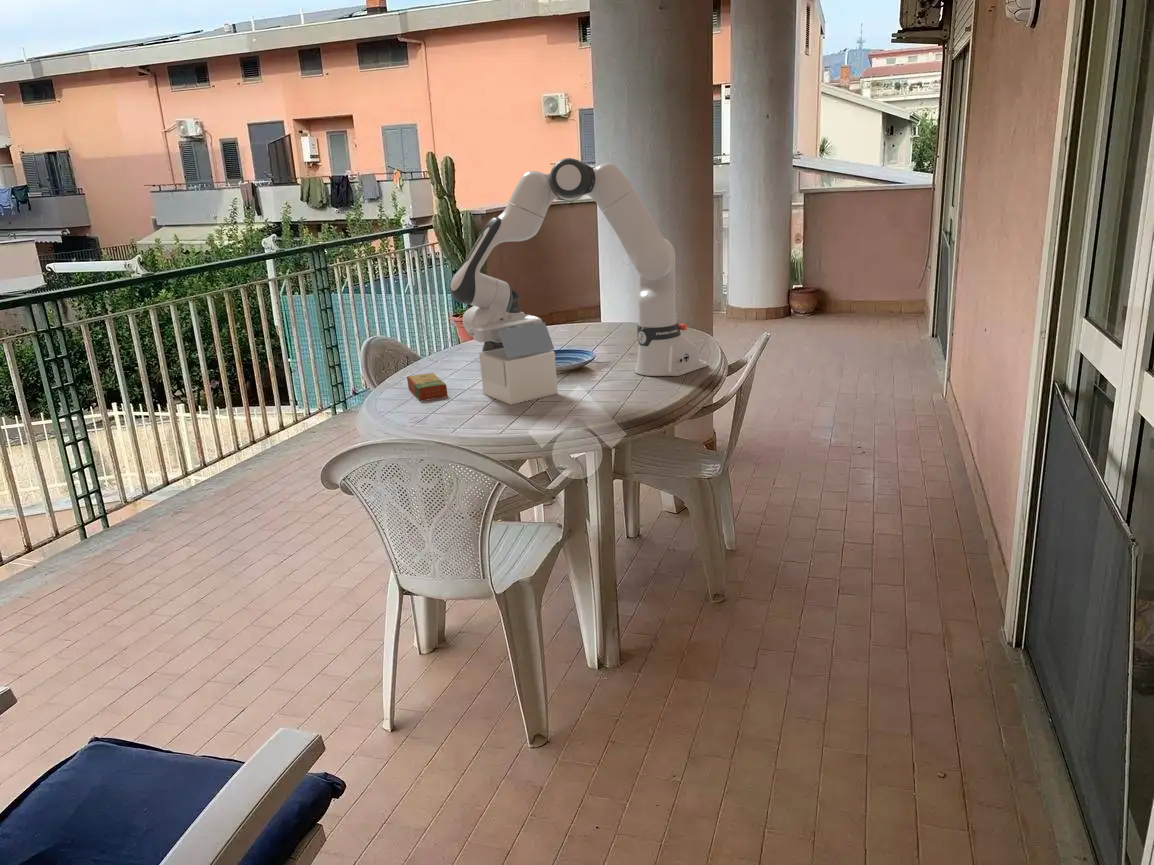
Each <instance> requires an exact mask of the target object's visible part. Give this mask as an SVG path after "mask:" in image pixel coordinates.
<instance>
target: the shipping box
mask: <svg viewBox="0 0 1154 865" xmlns="http://www.w3.org/2000/svg"><path fill="white" fill-rule="evenodd" d="M479 361H480V362H479V363H480V372H481V382H482V383H481V384H482V392H483V393H482V394H483V395H485V396H487V397H491V398H493V399H496V400H498V401H500V402H502V403H506V404H508V405H511V406H512V404H513V405H517V404H521V403H525V402H524V401H526V402H529V401H528V400H530V401H534V400H538V399H537V398H539V399H541V397H543V398H546V396H547V397H551V396H555V395H554V394H556V395H558V394H559V393H558V381H557V380H558V378H557V366H556V365H557V364H556V352H555V351H554V350H549V351H543V352H538V353H533V354H528V355H523V356H518V357H513V358H507V355H506V352H505V349H504V348H500V349H495V350H490V351H484V352H482V351H480V352H479ZM550 395H551V396H550ZM533 399H534V400H533ZM520 402H521V403H520ZM516 403H517V404H516Z"/></svg>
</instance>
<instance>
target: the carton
mask: <svg viewBox="0 0 1154 865" xmlns="http://www.w3.org/2000/svg"><path fill="white" fill-rule="evenodd" d="M406 380H407V386H408V390H409V391H410V392H411V394H413V395H414V397H416V398H417V400H418V401H419V402H422V401H421V400H423V401H428V400H427V399H429V400H434V398H435V399H441V398H445V397H447V398H448V388H447V383H445V382H444V381H443V380H442V379H440V378H439V377H438V376H437V375H436V374H435V373H433V372H430V373H429V372H427V373H421V374H415V375H409V376H406Z"/></svg>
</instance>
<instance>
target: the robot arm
mask: <svg viewBox="0 0 1154 865" xmlns="http://www.w3.org/2000/svg"><path fill="white" fill-rule="evenodd" d="M630 182H631V181H630V180H628V178H627V176H626V175H625V174H624V173H623V172H622V170H620V169H619V168H618V167H617V166H616V165H615V164H613V163H611V162H604V163H600V164H599V165H597V166H595V167H592V166H590V165H588V164H586V163H584V162H582V161H580V160H579V159H575V158H569V157H568V158H566V157H565V158H562V159H560V160H558V161H556V162H555V164H554V165H553V166H552V168H551V171H550V173H549V172H548V173H543V172H540V171H537V170H530V171H527V172H525V173H523V175H522V176H521V178H520V179H519V181H518V183H517V184H516V186H515V187H514V189H513V191H512V194H511V196H510V199H509V201H508V203H507V205H506V207H505V209H504V210H503V211H502V212H501V213H500V214H499V215H498V216H497V217H493V218H491V219H490V220H489V221H488V222H487V223H486V225H485V226H484V227H483V229H482V231H481V232H480V233H479V236H478V237H477V239H476V241H475V243H474V244H473V245H472V247H471V249H470V250H469V253H468V254H467V256H466V257H465V259H464V261H463V262H462V264H461V265H460V266H459V267H458V269H457V270H456V271H455V273H454V275H453V276H452V278H451V280H450V284H449V290H450V292H451V293H450V294H452V297H453V298H454V300H455V301H456V302H457V303H459V304H460V303H461V304H465V305H467V304H468V305H469V304H470V305H473V307H471V308H470V309H468V310H467V309H466V310H465V311H464V313H463V314H462V325H463V328H464V329H465V330H466V332H467V333H466V334H467V335H469V336H472V338H473V339H472V340H474V341H476V342H479V343H484V342H488V341H493V342H496V343H502V340H501V338H500V335H499V332H498V331H499V330H503V329H509V328H514V327H520V326H525V325H531V324H537V323H542V322H543V319H542V318H540V317H538V316H536V315H531V314H525V312H523V311H520V312H509V310H510V308H511V305H512V301H513V295H512V290H513V289H512V288H511V285H510V284H509V283H508V281H505V280H501V279H499V278H496V277H493V276H490V275H487V274H484V273H482V272H481V269H482V267H483V265H484V264H485V263H486V260H487V259H488V258H489V255H490V254H491V252H492V251H493V249H494V248H495V247H497V246H498V245H500V244H502V243H506V242H523V241H527V240H530V239H531V238H533V237H535V236H536V235H537V234H538V232H539V230H540V229H541V226H542V225H543V222H544V220H545V217H546V215H547V212H548V209H549V208H550V206H551V204H552V203H553V202H554V201H555V200H556V201H557V200H558V201H566V202H573V201H578V200H579V199H581V198H583V197H584V196H588V197H590V198H591V199H592V200H594V202H595V203H596V204H597V206H598V208H599V209H600V211H601V212H602V214H603V215H604V217H605V219H606V220H607V222H608V223H609V225H610V227H611V228H612V229H613V231H614V233H615V234H616V236H617V237H618V239H619V241H620V243H621V245H622V247H623V249H624V251H625V252H626V255H627V256H628V258H629V260H631V263H632V265H633V266H634V268H635V270H636V271H637V314H638V316H637V317H638V318H637V321H638V324H637V326H636V328H637V329H636V330H637V331H636V332H637V333H636V334H637V335H636V336H637V340H638V342H637V343H638V348H637V349H638V350H637V359H636V364H635V369H634V372H635V373H636V374H638V375H641V376H649V377H650V376H651V377H662V376H666V377H667V376H669V377H670V376H671V377H672V376H673V377H678V376H679V377H680V376H682V375H685V374H688V373H691V372H693V371H696V370H700V369H702V368H705V367H707V366H708V362H707V361H705V360H703V359H700V354H699V349H698V347H697V345H696V344H694V343H693V342H692V341H690V340H689V339H688V338H686V337H685V336H683V335H682V332H683V331H684V332H685V331H687V329H688V325H687V324H686V323H677V314H676V309H677V308H676V307H677V306H676V251H675V247H674V246H673V244H672V242H670V241H669V240H668V239H667V238H664V236H663V235H662V233H661V231H660V230H659V228H658V227H657V224H656V223H655V220H654V219H653V217H652V215H651V213H650V211H649V210H648V208H647V206H646V205H645V204H644V202H643V200H642V198H640V196H639V194H638V192H637V191H636V190H635V188H634V187H633V185H632V183H630ZM511 289H512V290H511ZM681 331H682V332H681Z"/></svg>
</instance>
